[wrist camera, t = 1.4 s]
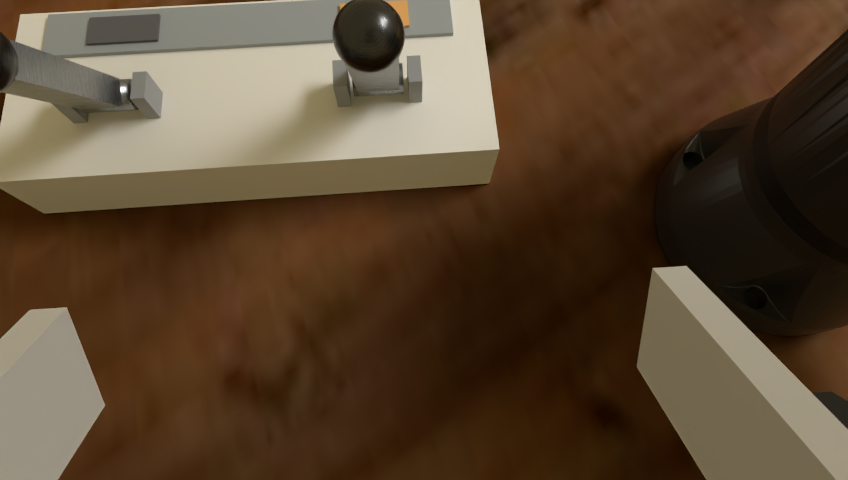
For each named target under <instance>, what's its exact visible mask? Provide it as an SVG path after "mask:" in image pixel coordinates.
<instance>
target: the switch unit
mask: <svg viewBox="0 0 848 480" xmlns="http://www.w3.org/2000/svg"><path fill="white" fill-rule="evenodd" d="M350 1H351V0H277V1H259V2H240V3H222V4H204V5H185V6H167V7H149V8H130V9H112V10H94V11H75V12H57V13H39V14H21V15H20V20H19V26H18V31H17V36H16V42H18V43H21V44H24V45H27V46H29V47H32V48H35V49H38V50H41V51H44V52H46V53H49V54H52V55H55V56H58V57H60V58H63V59H66V60H69V61H72V62H75V63H77V64H80V65H83V66H86V67H89V68H91V69H94V70H97V71H100V72H103V73H105V74H108V75H111V76H114V77H117V78H119V79H132V84H131V94H130V99H131V101H132V102H133V103H134V104H135V105H136V106H137V107H138V110H130V111H113V112H97V113H82V112H81V111H80V110H79V109H77V108H72V107H68V106H63V105H58V104H54V103H49V102H44V101H40V100H35V99H30V98H26V97H21V96H16V95H12V94H7V93H6V96H5V102H4V107H3V113H2V118H1V124H0V189H2V190H4V191H5V192H7V193H9V194H11V195H12V196H14V197H16V198H18V199H19V200H21V201H23V202H25V203H26V204H28V205H30V206H32V207H33V208H35V209H37V210H38V211H40V212H42V213H44V214H46V213H61V212H75V211H90V210H105V209H120V208H135V207H149V206H164V205H179V204H194V203H209V202H223V201H238V200H253V199H268V198H283V197H298V196H312V195H327V194H342V193H357V192H372V191H386V190H401V189H416V188H431V187H446V186H460V185H475V184H489V183H490V179H491V176H492V172H493V169H494V166H495V162H496V159H497V156H498V152H499V143H498V135H497V128H496V120H495V113H494V106H493V98H492V91H491V84H490V76H489V69H488V62H487V54H486V47H485V40H484V32H483V25H482V18H481V10H480V3H479V0H384V1H385V2H387V3H388V4H390V5H391V6H392V7H393V8H394V9H395V10H396V11H397V13H398V14H399V16H400V18H401V20H402V22H403V26H404V31H405V42H404V47H403V50H402V52H401V54H400V56H399V63H402V67H403V81H404V94H392V95H375V96H359V97H354V92H353V84H352V78H351V76H350V74H349V72H348V70H347V68H346V66H345V64H344V62H343V61H342V59H341V58H340V57H339V55H338V54H337V52H336V49H335V47H334V43H333V37H332V30H333V24H334V21H335V18H336V16H337V14H338V12H339V11H340V10H341V8H342V7H343V6H344V5H346V4H347V3H348V2H350Z"/></svg>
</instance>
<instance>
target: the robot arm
mask: <svg viewBox="0 0 848 480" xmlns="http://www.w3.org/2000/svg"><path fill="white" fill-rule="evenodd" d="M655 222H656V228H657V233H658V237H659V240H660V243H661V246H662V249H663V251H664V253H665V255H666V258H667V260H668V261H669V263H670V265H671V267H662V268H652V274H651V280H650V286H649V292H648V299H647V305H646V311H645V317H644V324H643V330H642V336H641V342H640V348H639V355H638V361H637V368H638V370H639V372H640V373H641V375H642V376H643V378H644V380H645V381H646V383H647V385H648V386H649V388H650V389H651V391H652V393H653V394H654V396H655V397H656V399H657V401H658V402H659V404H660V406H661V407H662V409H663V410H664V412H665V414H666V415H667V417H668V419H669V420H670V422H671V423H672V425H673V427H674V428H675V430H676V432H677V433H678V435H679V436H680V438H681V440H682V441H683V443H684V445H685V446H686V448H687V449H688V451H689V453H690V454H691V456H692V457H693V459H694V461H695V462H696V464H697V466H698V467H699V469H700V470H701V472H702V474H703V475H704V477H705V479H706V480H848V401H846V400H845V399H843V398H841V397H839V396H838V395H836V394H834V393H833V392H821V393H811V392H810V391H809V390H808V389H807V388H806V387H805V386H804V385H803V384H802V383H801V382H800V381H799V379H798V378H797V377H796V376H795V375H794V374H793V373H792V372H791V371H790V370H789V369H788V368H787V367H786V366H785V365H784V364H783V363H782V362H781V361H780V360H779V359H778V358H777V357H776V356H775V355H774V354H773V353H772V352H771V351H770V350H769V349H768V348H767V347H766V346H765V345H764V344H763V343H762V342H761V341H760V340H759V339H758V338H757V337H756V336H755V335H754V334H753V333H752V332H751V331H750V330H749V329H751V330H754V331H758V332H762V333H766V334H772V335H780V336H802V335H809V334H814V333H819V332H823V331H827V330H831V329H835V328H840V327H843V326H846V325H848V30H847V31H846V32H844V33H843V34H842V35H841V36H840V37H839V38H838V39H837V40H836V41H835V42H833V43H832V44H831V45H830V46H829V47H828V48H827V49H826V50H825V51H823V52H822V53H821V54H820V55H819V56H818V57H817V58H816V59H815V60H813V61H812V62H811V63H810V64H809V65H808V66H807V67H806V68H805V69H804V70H802V71H801V72H800V73H799V74H798V75H797V76H796V77H795V78H794V79H792V80H791V81H790V82H789V83H788V84H787V85H786V86H785V87H784V88H783V89H782V90H781V91H780V92H779V93H778V94H776V95H775V96H774V97H771V98H768V99H766V100H763V101H761V102H758V103H756V104H753V105H751V106H748V107H745V108H743V109H740V110H738V111H735V112H733V113H730V114H728V115H725V116H723V117H720V118H718V119H716V120H714V121H712V122H711V123H709V124H707V125H706V126H704V127H703V128H701V129H700V130H699V131H697V132H696V133H695V134H694V135H693V136H692V137H691V138H690V139H689V140H688V141H687V142H686V143H685V144H684V145H683V146H682V147H681V148H680V149H679V150H678V151H677V152H676V153H675V154H674V156H673V157H672V158H671V159H670V161H669V162H668V164H667V165H666V167H665V169H664V171H663V173H662V175H661V178H660V180H659V183H658V187H657V191H656V197H655ZM104 406H105V404H104V401H103V399H102V396H101V394H100V391H99V389H98V386H97V383H96V381H95V378H94V376H93V373H92V371H91V368H90V366H89V363H88V360H87V358H86V355H85V353H84V350H83V348H82V345H81V343H80V340H79V337H78V335H77V332H76V330H75V327H74V325H73V322H72V320H71V317H70V314H69V312H68V309H67V307H64V308H49V309H35V310H29V311H28V312H27V313H26V314H25V315H24V316H23V317H22V318H21V319H20V320H19V321H18V322H17V323H16V324H15V325H14V326H13V327H12V328H11V329H10V330H9V331H8V332H7V333H6V334H5V335H4V336H3V337H2V338H1V339H0V480H58V479H59V477H60V475H61V474H62V472H63V471H64V469H65V468H66V466H67V464H68V463H69V461H70V460H71V458H72V457H73V455H74V453H75V452H76V450H77V449H78V447H79V446H80V444H81V443H82V441H83V439H84V438H85V436H86V435H87V433H88V432H89V430H90V428H91V427H92V425H93V424H94V422H95V421H96V419H97V417H98V416H99V414H100V413H101V411H102V410H103V408H104Z"/></svg>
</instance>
